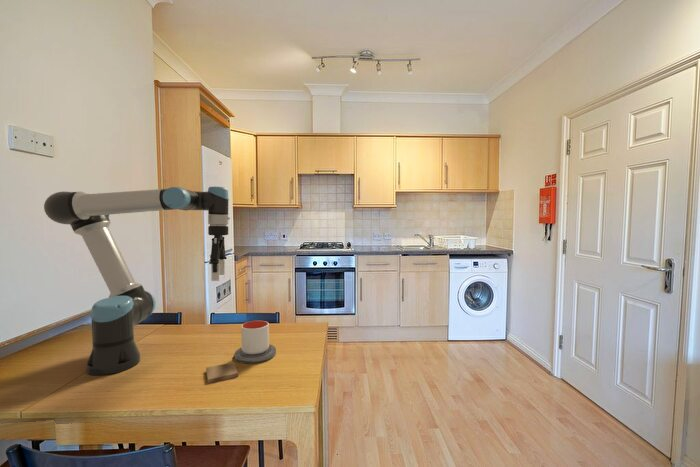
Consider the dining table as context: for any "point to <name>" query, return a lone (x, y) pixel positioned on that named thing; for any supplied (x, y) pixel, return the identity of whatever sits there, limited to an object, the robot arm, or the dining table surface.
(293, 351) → the dining table surface
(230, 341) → the dining table surface
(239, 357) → the grey plate
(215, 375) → the oak coaster
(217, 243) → the robot arm
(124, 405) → the dining table surface
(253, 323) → the cup
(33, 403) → the dining table surface
